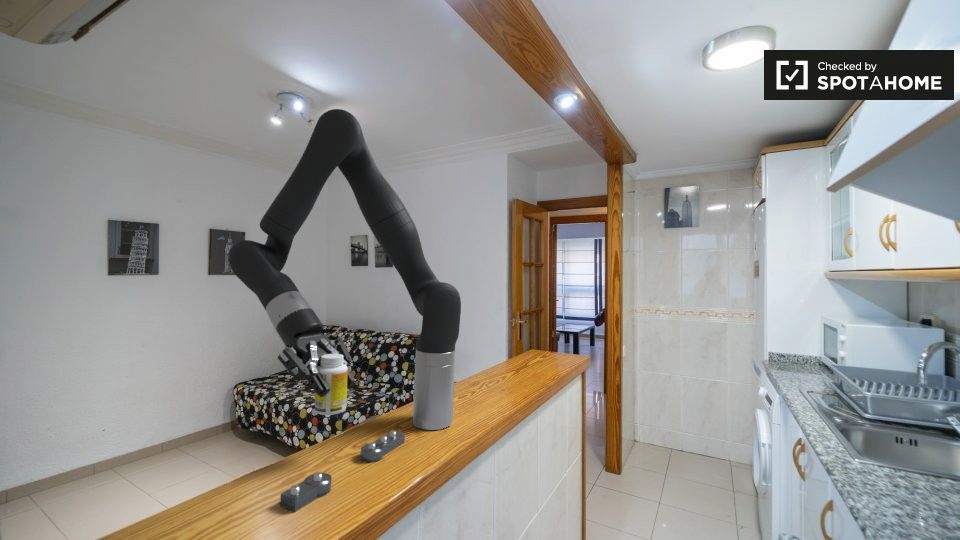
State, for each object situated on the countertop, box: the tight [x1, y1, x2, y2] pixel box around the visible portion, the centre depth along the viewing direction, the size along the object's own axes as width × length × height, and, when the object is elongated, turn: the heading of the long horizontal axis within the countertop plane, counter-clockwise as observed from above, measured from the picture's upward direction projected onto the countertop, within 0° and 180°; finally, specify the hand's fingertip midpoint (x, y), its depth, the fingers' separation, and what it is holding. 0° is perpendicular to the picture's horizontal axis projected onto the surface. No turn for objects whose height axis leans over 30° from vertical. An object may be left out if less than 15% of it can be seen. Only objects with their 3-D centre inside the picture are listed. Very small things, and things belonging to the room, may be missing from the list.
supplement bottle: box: [314, 354, 349, 416], centre depth 72 cm, size 6×6×10 cm
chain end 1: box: [279, 471, 332, 513], centre depth 60 cm, size 8×4×3 cm, turn 156°
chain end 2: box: [360, 430, 406, 463], centre depth 76 cm, size 10×4×3 cm, turn 156°
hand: (338, 389), depth 71 cm, fingers closed on supplement bottle, 5 cm apart
